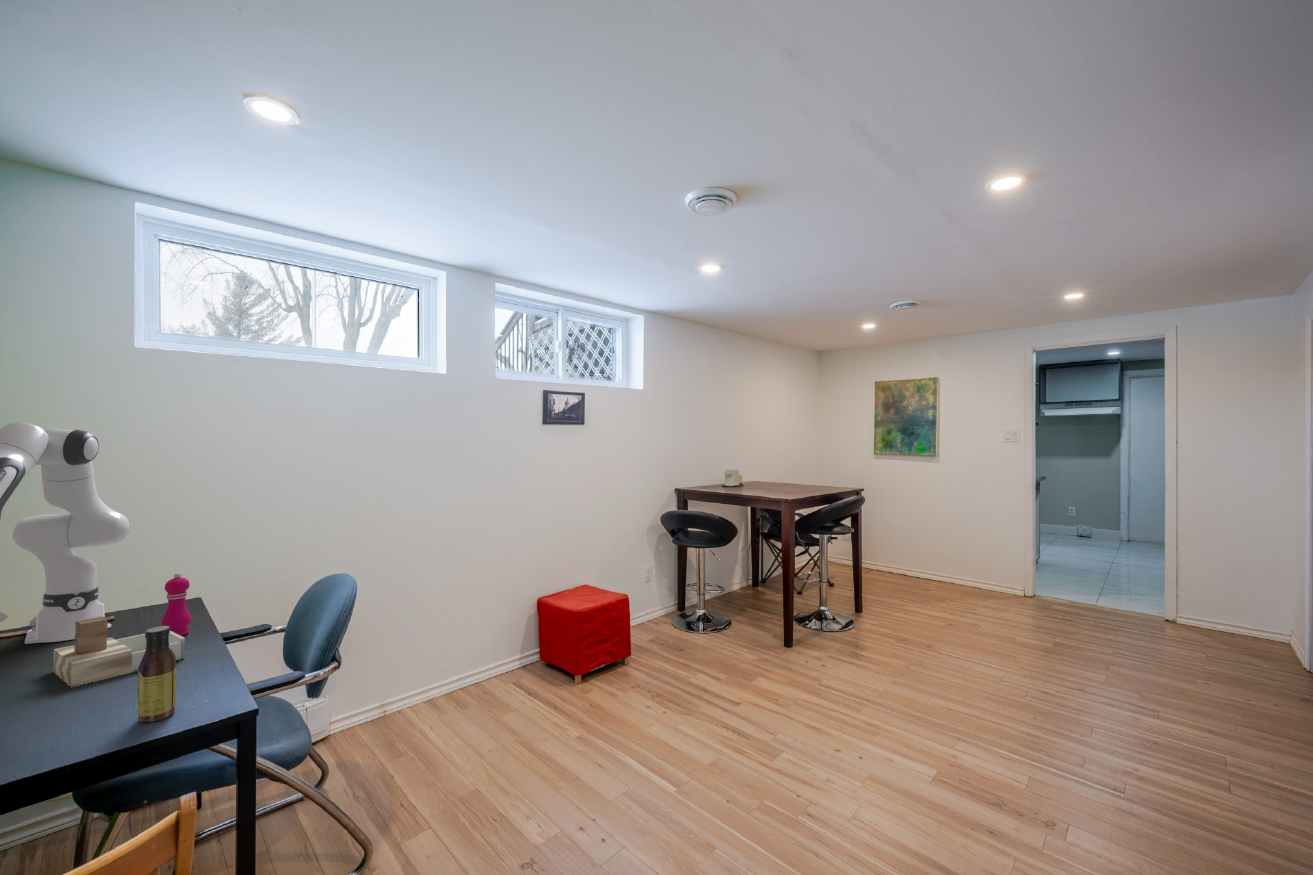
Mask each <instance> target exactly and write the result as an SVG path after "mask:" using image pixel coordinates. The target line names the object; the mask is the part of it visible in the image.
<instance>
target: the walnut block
mask: <svg viewBox="0 0 1313 875" xmlns="http://www.w3.org/2000/svg"><path fill="white" fill-rule="evenodd" d="M107 623H109V622H108V618H106V616H105V617H103V616H100V617H94V618H89V619H83V620H78V621H75V639H74V644H73V645H74V651H75V652H76V653H77V654H79V655H82V654H87V653H91V652H96V651H101V650H105V649H107V638H108V628H107Z"/></svg>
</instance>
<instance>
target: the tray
mask: <svg viewBox="0 0 1313 875" xmlns="http://www.w3.org/2000/svg"><path fill="white" fill-rule="evenodd" d="M116 640H117V641H118V642H120V643H122V644H123V645H125V646H127V647H128V648H130V649H132V673H135V671H136V672H138V667H139V665H140V663H141V660H142V658H143V656H144V654H145V651H146V637H145V633H142V634H136V635H132V636H128V637H123V638H118V639H116ZM185 641H186V638H185V637H184V636H180V635H178V634H176V633H174V632H172V631H170V633H169V648H170V649H171V650H172V651H173V652H174V654H175V657H176V660H179V661H182V660H181V659H183V660H184V659H185V644H186V642H185Z"/></svg>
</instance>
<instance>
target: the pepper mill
mask: <svg viewBox="0 0 1313 875" xmlns="http://www.w3.org/2000/svg"><path fill="white" fill-rule="evenodd" d="M190 586H191V585H190V581H189V579H188V578H186V577H182V574H181V572H176V573H174V575H173V578H170V579H169V580H168V581H167V582H166V583H165V585H164V591H165V592H167V594H166V600H167V609H166V610H165V612H164V614H163V616H162V618H161V621H160V626H169V627H170V631H172V632H174V633H176V634H178V635H180V636H182V635H184V634H187V633H188V632H190V630H189V629H190V628H189V627H188V626H189V625H190V624H191V622H192V616H191V613H190V612H189V610H188V608H187V605H186V597H187V596H188V591H187V590H189V588H190ZM188 634H189V633H188ZM188 634H187V635H188ZM182 637H183V636H182Z"/></svg>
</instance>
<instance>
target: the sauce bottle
mask: <svg viewBox="0 0 1313 875" xmlns="http://www.w3.org/2000/svg"><path fill="white" fill-rule="evenodd" d="M144 632H145V633H144V634H145V637H146V651H145V654H144V656H143V658H142V660H141V663H140V665H139V667H138V671H137V715H138V720H139V722H140V723H141V722H142V723H151V722H158V721H162V720H164V719H166V718H168V717H171V716H172V715H174V714H175V711H176V705H177V666H176V662H177V661H176V657H175V654H174V652H173V651H172V650H171V649H170V648H169V633H170V627H169V626H161V625H160V626H159V625H158V626H155V627H151V628H148V629H146V630H145V631H144Z"/></svg>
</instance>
